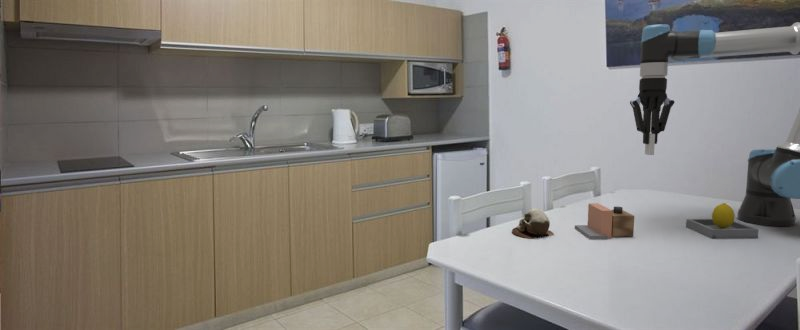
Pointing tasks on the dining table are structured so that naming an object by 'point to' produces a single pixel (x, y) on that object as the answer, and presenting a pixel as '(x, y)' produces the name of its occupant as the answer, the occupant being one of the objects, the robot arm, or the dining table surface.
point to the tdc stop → (597, 222)
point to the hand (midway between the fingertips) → (649, 154)
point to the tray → (715, 232)
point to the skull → (533, 225)
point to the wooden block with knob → (622, 222)
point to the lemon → (723, 216)
